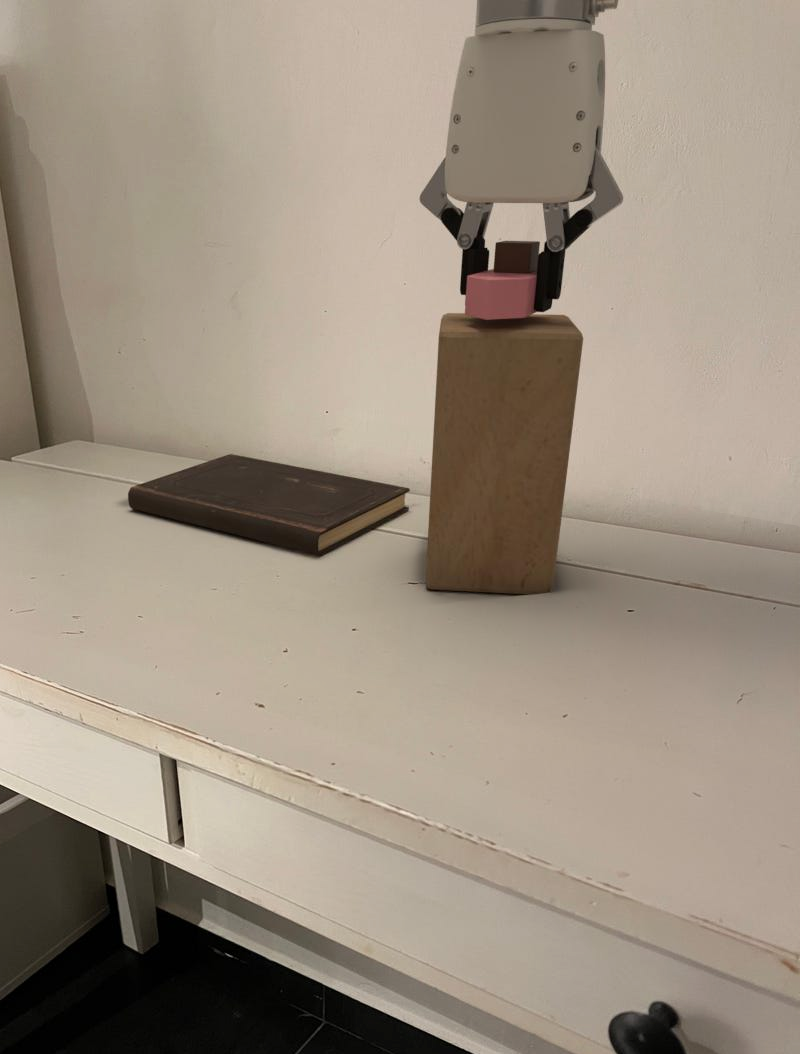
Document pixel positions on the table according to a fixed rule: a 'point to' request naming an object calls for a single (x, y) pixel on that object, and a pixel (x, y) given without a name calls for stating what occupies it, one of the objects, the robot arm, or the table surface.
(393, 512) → the hardcover book
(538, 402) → the wooden block
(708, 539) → the table surface
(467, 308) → the pink and brown blocks
